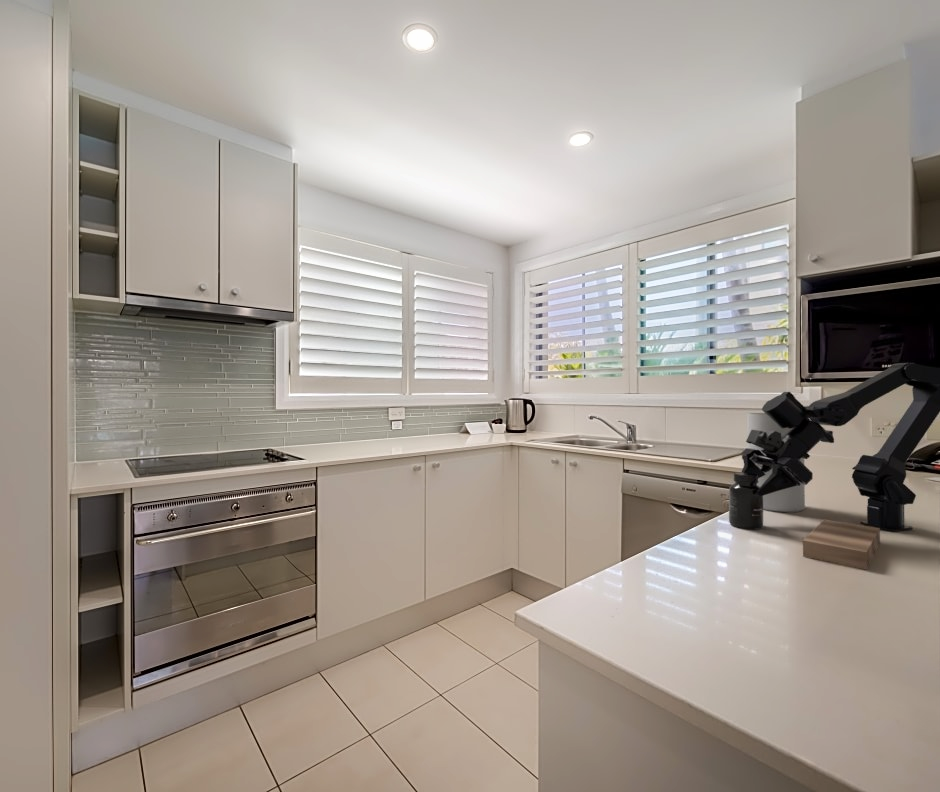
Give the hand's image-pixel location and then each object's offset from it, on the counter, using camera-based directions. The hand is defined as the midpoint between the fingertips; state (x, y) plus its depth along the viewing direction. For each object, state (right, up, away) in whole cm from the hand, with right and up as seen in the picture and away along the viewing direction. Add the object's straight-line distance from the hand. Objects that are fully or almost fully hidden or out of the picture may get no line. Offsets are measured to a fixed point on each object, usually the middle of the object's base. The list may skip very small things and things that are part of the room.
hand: (747, 490), depth 105 cm
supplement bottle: (0, -8, 0) cm, 8 cm away
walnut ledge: (+9, -8, -16) cm, 20 cm away
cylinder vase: (+18, -8, +17) cm, 26 cm away
